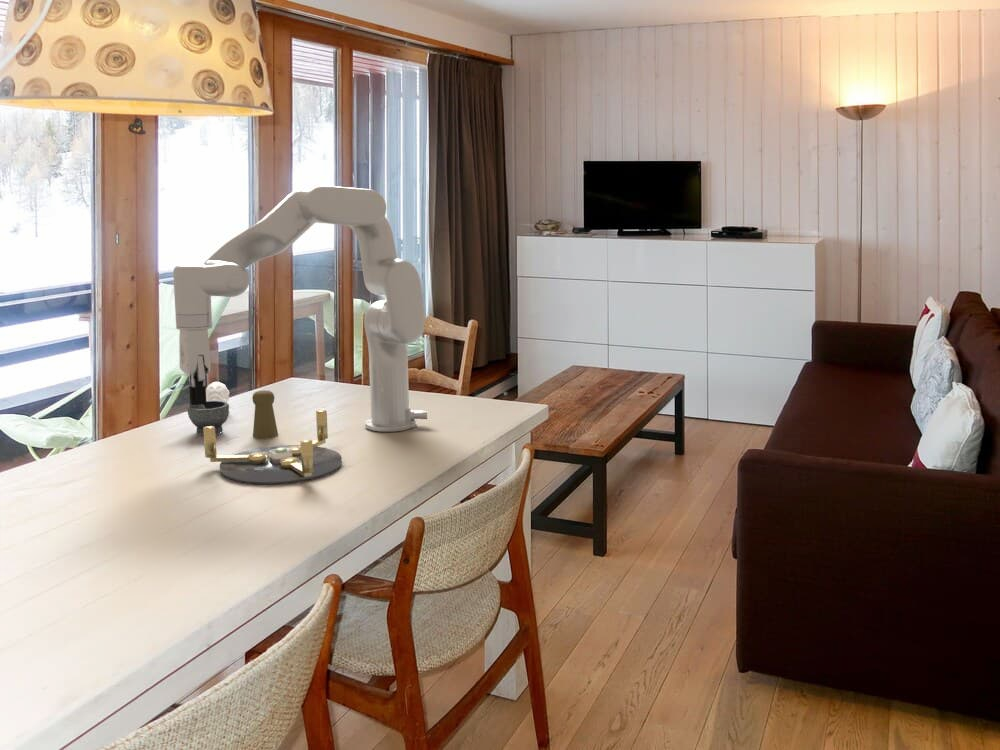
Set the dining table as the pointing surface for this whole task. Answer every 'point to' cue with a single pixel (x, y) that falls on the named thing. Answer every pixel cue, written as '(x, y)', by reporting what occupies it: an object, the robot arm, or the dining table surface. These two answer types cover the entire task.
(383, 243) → the robot arm
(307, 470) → the brass crank handle
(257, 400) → the olive tapered upright piece
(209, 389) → the white carved sculpture
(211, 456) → the gold l-shaped piece
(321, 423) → the brass bent bar
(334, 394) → the dining table surface
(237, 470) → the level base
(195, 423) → the mortar and pestle
